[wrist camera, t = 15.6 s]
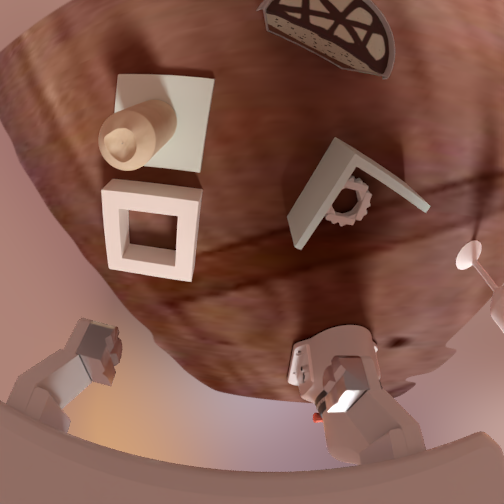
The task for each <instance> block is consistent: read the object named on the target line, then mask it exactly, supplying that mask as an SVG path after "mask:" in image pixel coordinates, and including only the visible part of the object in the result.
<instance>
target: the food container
mask: <svg viewBox="0 0 504 504" xmlns="http://www.w3.org/2000/svg"><path fill="white" fill-rule="evenodd" d="M261 9H262V10H263V14H264V20H265V26H266V31H268V32H271V33H273V34H275V35H277V36H280V37H282V38H284V39H286V40H288V41H290V42H293V43H295V44H297V45H299V46H301V47H303V48H305V49H307V50H309V51H311V52H312V53H314V54H316V55H318V56H320V57H322V58H324V59H325V60H327V61H329V62H331V63H332V64H334V65H336V66H338V67H339V68H341V69H344V70H350V71H356V72H362V73H367V74H373V75H378V76H382V79H383V80H384V79H388V78H389V76H390V74H391V72H392V69H393V66H394V62H395V41H394V37H393V33H392V30H391V28H390V26H389V23H388V21H387V20H386V18H385V16H384V15H383V13H382V12H381V11H380V10H379V8H378V7H377V6H376V5H375V4H374V3H373V2H372V1H371V0H264V1H263V2H262V3H261V4H260V5H259V7H258V8H257V10H256V11H259V10H261Z"/></svg>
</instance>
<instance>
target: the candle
mask: <svg viewBox="0 0 504 504" xmlns="http://www.w3.org/2000/svg"><path fill="white" fill-rule="evenodd" d="M176 127H177V117H176V114H175V112H174V110H173V108H172V107H171V106H170V105H169V104H167V103H166V102H164V101H160V100H148V101H145V102H142V103H139V104H136V105H134V106H131V107H128V108H126V109H123V110H121V111H118V112H116V113H114V114H112V115H111V116H109V117H108V118H107V119H106V120H105V122H104V123H103V125H102V127H101V129H100V132H99V138H98V142H99V148H100V151H101V154H102V156H103V157H104V159H105V160H106V161H107V162H108V163H109V164H110V165H111V166H113V167H115V168H117V169H120V170H124V171H131V170H136V169H138V168H140V167H142V166H144V165H145V164H146V163H147V162H148V161H149V160H150V159H151V158H152V157H153V156H154V155H155V154H156V153H157V152H158V151H159V150H160V149H161V148H162V147H163V146H164V145H165V144H166V143H167V142H168V141H169V140H170V139H171V137H172V136H173V135H174V133H175V130H176Z"/></svg>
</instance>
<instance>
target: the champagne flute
mask: <svg viewBox="0 0 504 504" xmlns="http://www.w3.org/2000/svg"><path fill="white" fill-rule="evenodd" d="M480 253H481V243H480V242H479V241H477V240H474V241H471V242H469V243H467V244H466V245H465V246H464V247H463V248H462V249H461V250H460V252H459V254H458V256H457V258H456V266H457V268H458V269H460V270H464V269H467V268H469V267H470V266H472V265H473V266H474V267H475V268H476V269H477V271H478V272H479V273H480V274H481V276H482V277H483V278H484V280H485V281H486V282H487V284H488V285H489V286H490V288H491V289H492V290H493V292H494V293H493V295H492V300H491V309H490V311H491V316H492V318H493V319H494V321H495V322H496V324H497V325H498V326H499V327H500V329H501V330H502V332H503V333H504V286H500V287H498V286H497V285H496V284H495V282H494V281H493V280H492V278H491V277H490V276H489V275H488V273H487V272H486V271H485V270H484V268H483V267H482V266H481V265H480V263H479V262H478V261H477V259H478V257H479V255H480Z"/></svg>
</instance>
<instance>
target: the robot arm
mask: <svg viewBox="0 0 504 504" xmlns="http://www.w3.org/2000/svg"><path fill="white" fill-rule="evenodd" d="M118 335H119V330H118V327H115V326H111V325H108V324H104V323H100V322H96V321H93V320H89V319H86V318H81V319H79V320H78V322H77V324H76V326H75V328H74V330H73V332H72V334H71V335H70V338H69V339H68V342H67V343H66V345H65V348H64V350H63V349H59V350H58V351H56V352H55V353H53V354H52V355H50V356H49V357H47V358H46V359H44V360H42V361H41V362H39V363H38V364H36V365H35V366H33V367H32V368H30V369H29V370H28V371H26V372H24V373H23V374H21V375H20V376H18V378H17V380H16V382H15V384H14V387H13V389H12V391H11V393H10V396H9V398H8V400H7V403H6V404H5V403H4V402H2V401H0V504H504V456H503V452H502V450H501V448H500V446H499V445H498V444H497V443H496V442H495V441H494V440H493V439H492V438H491V437H490V436H489V435H487V434H486V433H485V432H481V431H480V432H477V433H474V434H471V435H469V436H466V437H464V438H461V439H458V440H456V441H453V442H450V443H447V444H444V445H441V446H438V447H435V448H432V449H429V450H426V447H425V444H424V440H423V436H422V432H421V429H420V426H419V423H418V422H417V421H416V420H415V419H414V418H413V417H412V416H411V415H409V413H408V412H407V411H406V410H405V409H404V408H403V407H402V406H401V405H400V404H399V403H398V402H396V400H395V399H394V398H393V397H392V396H391V395H390V394H389V393H388V392H387V391H386V390H385V389H383V387H382V386H381V382H380V380H379V379H380V370H379V365H378V360H377V356H376V352H377V350H378V347H377V344H376V343H375V342H373V341H372V335H371V333H370V331H369V330H368V329H366V328H364V327H362V326H358V325H342V326H337V327H333V328H330V329H327V330H325V331H323V332H321V333H319V334H317V335H315V336H314V337H312V338H310V339H307V340H303V341H300V342H297V343H295V344H294V346H293V351H292V356H291V361H290V367H289V372H288V377H287V380H288V383H290V384H292V385H296V386H299V391H300V395H301V397H302V398H303V399H305V400H307V401H310V402H312V403H315V405H316V409H317V410H318V412H319V413H314V415H313V420H314V422H315V423H316V422H323V424H324V430H325V437H326V443H327V450H328V452H329V453H330V454H331V455H332V456H333V457H334V458H335V459H337V460H339V461H342V462H346V463H352V464H358V466H351V467H343V468H335V469H326V470H314V471H296V472H249V471H231V470H219V469H210V468H201V467H194V466H187V465H180V464H175V463H169V462H164V461H159V460H154V459H149V458H145V457H141V456H137V455H132V454H129V453H125V452H122V451H117V450H115V449H111V448H108V447H105V446H101V445H98V444H95V443H92V442H89V441H87V440H84V439H81V438H78V437H76V436H73V435H71V434H68V433H67V432H68V429H69V425H70V422H71V421H70V418H69V417H68V416H67V415H66V413H65V412H64V411H63V410H62V408H64V407H65V406H66V405H67V404H68V403H69V402H70V401H71V400H73V399H74V398H75V397H76V396H77V395H78V394H79V393H80V392H82V391H83V390H84V389H85V388H86V387H87V386H88V385H89V384H91V381H93V382H97V383H101V384H104V385H108V386H112V383H113V380H114V377H115V373H116V371H115V369H114V366H115V365H117V364H118V363H119V362H120V359H121V353H122V342H121V340H120V339H119V338H118Z"/></svg>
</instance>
